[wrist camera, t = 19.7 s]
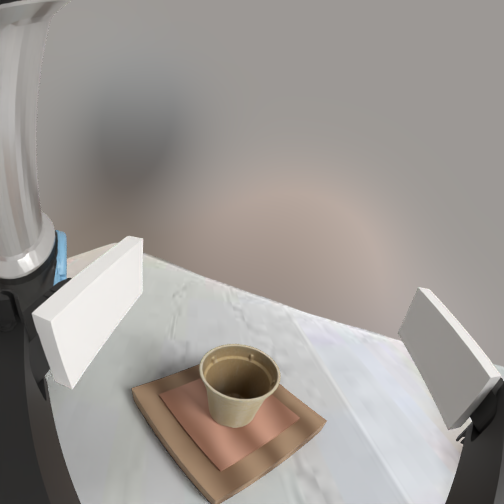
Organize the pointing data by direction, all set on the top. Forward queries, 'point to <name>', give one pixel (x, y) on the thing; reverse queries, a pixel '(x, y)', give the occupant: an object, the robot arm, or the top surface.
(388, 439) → the top surface
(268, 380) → the flower pot
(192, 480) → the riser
